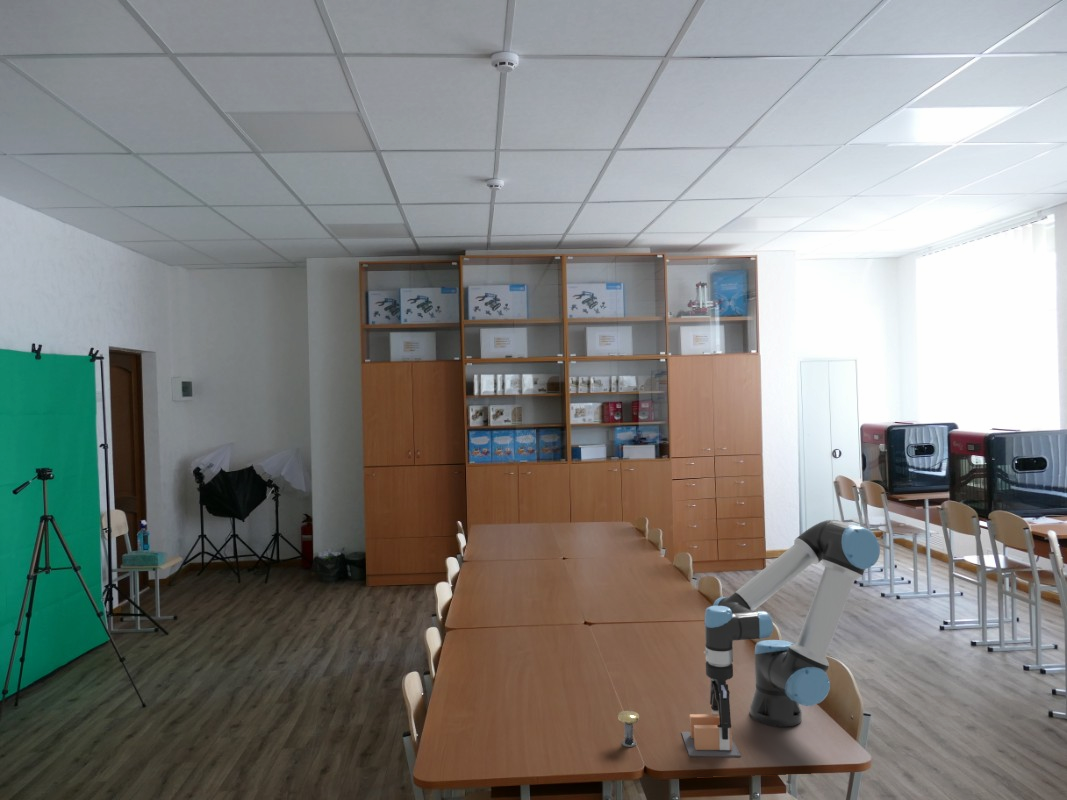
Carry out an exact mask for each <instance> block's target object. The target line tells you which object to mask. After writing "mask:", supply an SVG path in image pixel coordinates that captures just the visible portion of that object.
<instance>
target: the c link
mask: <svg viewBox="0 0 1067 800" xmlns="http://www.w3.org/2000/svg"><path fill="white" fill-rule="evenodd" d="M717 725H720V721H719V714H712V713H707V714H706V713H705V714H704V713H703V714H702V713H701V714H700V713H697V714H691V713H690V714H689V732H690V736H691V738H694V747H695V749H696V750H720V749H719V727H717ZM732 739H733V737H732V727H731V728H729V740H730V750H732Z"/></svg>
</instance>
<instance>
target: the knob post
mask: <svg viewBox="0 0 1067 800" xmlns="http://www.w3.org/2000/svg"><path fill="white" fill-rule="evenodd" d="M617 719H618V721H619V722H621V723H623V725H624V739H623V740H622V742H621V745H622V746H623V747H626V748H634V747H636V746H637V742H636V741H635V740H634V724H635V723H638V722H639V721H640V714H639V713H638V712H636V711H634V710H622V711H619V712H618V714H617Z"/></svg>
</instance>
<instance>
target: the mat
mask: <svg viewBox="0 0 1067 800" xmlns="http://www.w3.org/2000/svg"><path fill="white" fill-rule="evenodd" d="M680 733H681V736H682V738H683V742H684V744H685V748H686V750H687V753H688V756H689V757H716V758H717V757H727V758H729V757H732V758H735V757H737V758H738V757H741V756H742V755H741V753H740V751H739V749H738V747H737V745H736V743H735V741H734V739H733V738H732V750H696V749H695V747H694V738H691V736H690V731H681V732H680Z"/></svg>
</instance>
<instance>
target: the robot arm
mask: <svg viewBox="0 0 1067 800" xmlns="http://www.w3.org/2000/svg"><path fill="white" fill-rule="evenodd" d="M793 541H794V543H793V545H791V546H790V547H789V548H788V549H786V550H785V551H784V552H782V553H781V555H780V556H778V557H777V558H776V559H775V560H773V561H772V562H771V563H769V564H768V565H767V566H766V567H765V568H763V569H762V570H761V571H760V572H758V573H757V574H756V575H755V576H753V577H752V578H751V579H749V580H748V581H747V582H746V583H745V584H743V585H742V586H741V587H740V588H738V589H737V590H736V591H735V592H734V593H732V594H731V595H730V596H729V597H728V596H721V597H719V598H717V599H716V600H715V601H714V603H713V604H712V605H710V606H708V607H706V608H705V613H704V623H703V624H704V634H705V635H704V637H705V644H704V645H705V650H703V654H704V655H705V661H706V662H705V675H706V677H708V678H709V679H710V694H709V695H710V697H709V699H710V700H709V704H710V706H711V714H719V721H720V725H717V727H719V749H720V750H730V740H729V728H731V729H732V722H731V720H732V719H731V704H730V690H729V685H728V684H727V681H728V680H730V679H732V678H733V676H734V665H733V662H734V650H733V649H734V648H733V644H734V643H733V642H735V641H745V640H747V641H748V640H760V641H758V642H756V644H755V648H754V665H755V666H754V668H755V669H754V670H755V673H754V674H755V690H754V693H753V697H752V699H751V703H750V706H749V707H750V709H749V711H750V716H751V718H752V719H754V720H755V721H756V722H758V723H761V724H763V725H767V726H771V727H778V728H780V727H781V728H782V727H783V728H787V727H788V728H790V727H794V726H797V725H798V724H800V723H802V720H803V717H802V715H803V714H802V709H801V706H803V707H813V706H815V705H817V704H821V702H823V701H824V700H825V699H826V697H827V696H828V694H829V692H830V690H831V689H830V688H831V682H830V680H829V679H830V678H829V676H828V674H827V672H828V669H829V666H830V663H829V661H828V659H827V654H829V649H830V647H831V644H832V642H833V639H834V638H835V637H834V636H835V633H836V631H837V628H838V626H839V623H840V620H841V619H842V618H841V617H842V615H843V613H844V610H845V607H846V604H847V602H848V600H849V596H850V594H851V591H852V589H853V586H854V583H855V581H856V580H857V579H859V578H862V577H863V576H864V573H865V571H866V570H867V569H870V568H871V567H873V566H874V565H876V563H877V562H878V561H879V558H880V554H881V547H880V542H879V541H878V539H877V536H876V535H875V533H874V532H872V531H871V530H870V529H868V528H866V527H863V526H861V525H858V524H852V523H848V522H845V521H841V520H838V519H827V520H824V521H820V522H819V523H816V524H814V525H813V526H811V527H809V528H808V529H806V530H805V531H803V532H802V533H801V534H800V535H798V536H797V537H796V538H795V539H794V540H793ZM821 561H822V564H823V565H824V570H823V572H822V575H821V577H820V581H819V582H818V585H817V588H816V591H815V594H814V597H813V598H812V601H811V603H810V605H809V608H808V609H809V610H808V612H807V615H806V617H805V620H804V623H803V625H802V627H801V631H800V633H799V635H798V639H797V640H796V642H795V643H793V642H791V641H787V640H784V639H783V640H781V639H768V640H767V639H766V638H769V637H770V636H772V635H773V631H774V623H773V618H772V617H771V615H770V614H769V613H768V612H767V611H765V610H757V609H758V608H759V607H761V606H762V605H763V604H765V602H766V601H768V600H769V599H770V598H772V596H774V595H775V594H776V593H778V591H780V590H781V589H782V588H783V587H785V586H786V585H787V584H788V583H790V582H791V581H792V580H793V579H795V578H796V577H797V576H799V575H800V574H801V573H802V572H803V571H805V570H806V569H807V568H808V567H809V566H811V565H812V564H813V565H817V564H819V563H820V562H821ZM761 639H764V640H761ZM765 639H766V640H765ZM800 705H801V706H800Z"/></svg>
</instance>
